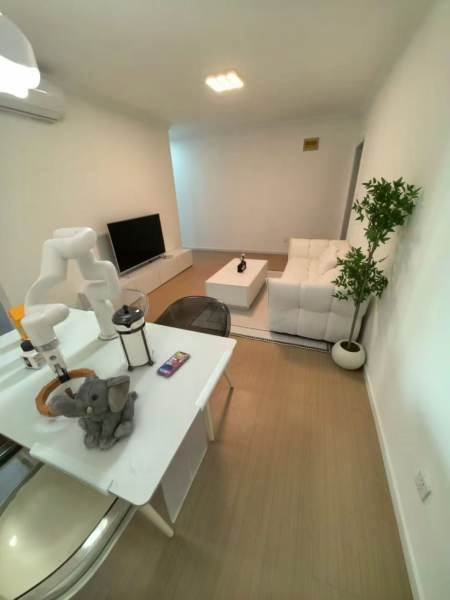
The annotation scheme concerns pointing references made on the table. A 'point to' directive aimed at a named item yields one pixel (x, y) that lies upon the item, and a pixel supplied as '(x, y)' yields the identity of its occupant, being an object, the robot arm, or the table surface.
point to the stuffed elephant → (100, 409)
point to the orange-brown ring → (52, 386)
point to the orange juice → (18, 319)
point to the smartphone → (173, 363)
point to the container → (31, 356)
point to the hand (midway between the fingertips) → (65, 379)
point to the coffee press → (132, 336)
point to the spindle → (70, 393)
